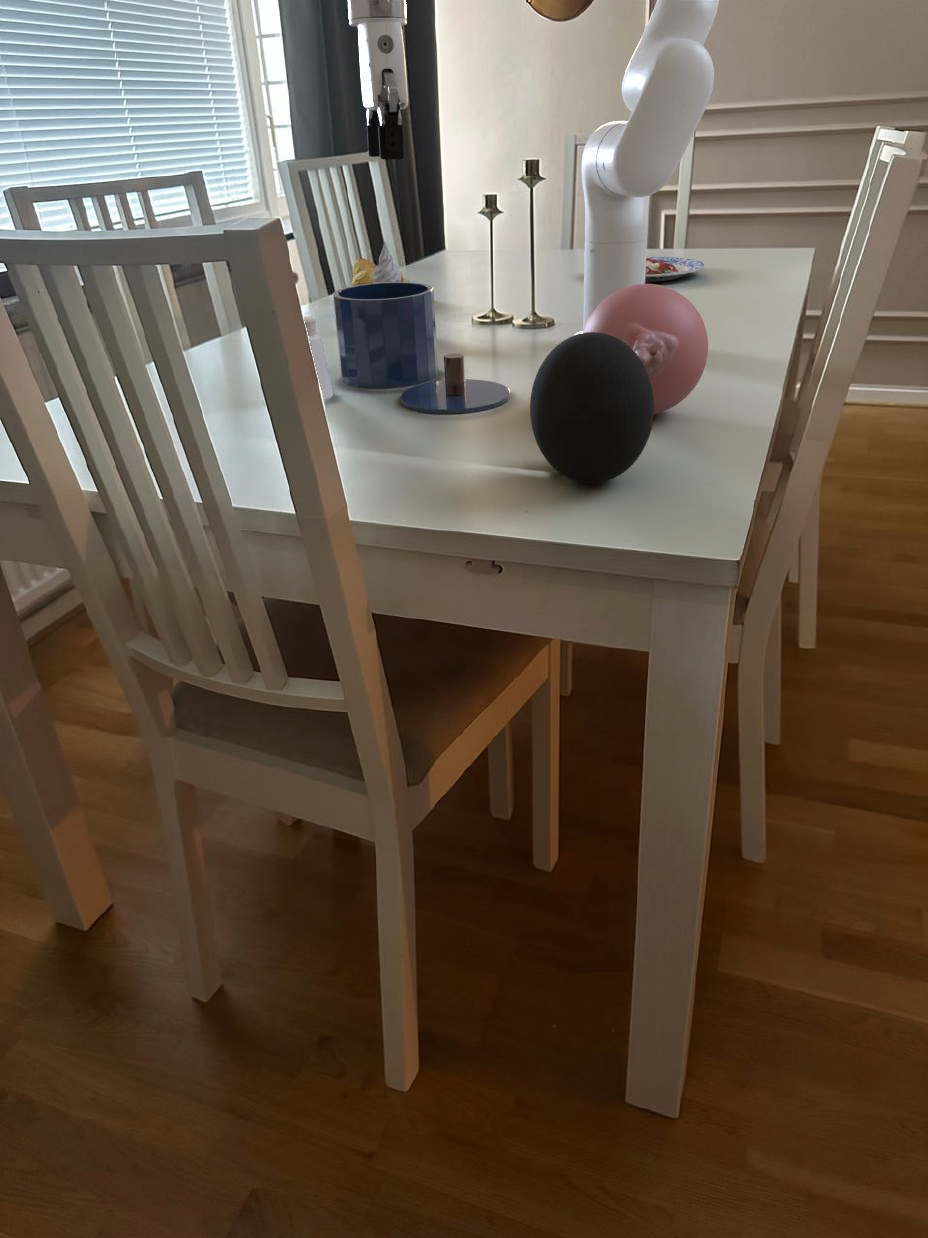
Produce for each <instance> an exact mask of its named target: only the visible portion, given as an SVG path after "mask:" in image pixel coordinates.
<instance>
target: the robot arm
mask: <svg viewBox="0 0 928 1238" xmlns="http://www.w3.org/2000/svg"><path fill="white" fill-rule="evenodd" d="M406 3H407V2H406V0H347V9H348V20H349V23H348V24H349V26H350V27H357V37H358V39H357V40H358V57H359V73H360V75H359V76H360V87H361V96H362V98H361V99H362V104H363V107H364V108H365V109H366V139H367V153H368V156H369V157H370V158H376V157H378V158H380V159H381V160H402V159H404V156H405V151H404V148H405V147H404V134H403V133H404V131H403V129H404V128H403V124H402V123H403V119H402V114H401V110H405V109H406V108H407V107H408V106H409V92H408V89H409V88H408V79H407V66H406V53H405V45H404V35H403V29H402V26H406V25H407V4H406ZM719 4H720V0H656V2H655V5H654V8H653V10H652V12H651V15H650V17H649V20H648V22H647V24H646V26H645V29H644V31H643V33H642V35H641V37H640V40H639V42H638V44H637V46H636V48H635V50H634V52H633V54H632V56H631V58H630V60H629V63H628V64H627V67H626V69H625V72H624V74H623V78H622V82H621V96H622V100H623V103H624V105H625V106H626V108H627V109H628V110H629V111H630V115H629V117H628V119H627V120H618V121H611V122H607V123H604V124H603V125H601V126H599V127H598V128H597V129H595V131H593V133H592V134H591V135H590V136H589V137H588V139H587V140H586V143H585V145H584V148H583V150H582V155H581V182H582V190H583V200H584V254H583V255H584V256H583V257H584V265H583V312H582V314H583V317H582V318H583V319H582V330H581V331H579V332H576V333H575V334H574V335H577V334H581V333H582V332H583V329H584V327H585V324H586V322H587V320H588V319H589V317H590V315H591V314H592V312H593V311H594V310H595V309H596V307H597V306H598V305H599V304H600V303H601V302H602V301H603V300H605V299H606V298H607V297H609V296H610V295H611V294H613V293H615V292H617V291H619V290H621V289H623V288H626V287H629V286H633V285H638V284H646V282H645V273H646V257H647V253H648V251H647V250H648V237H649V236H648V235H649V234H648V232H649V211H648V201H647V197H649V196H652V195H654V194H656V193H657V192H659V191H660V190H662V189H663V188H664V187H665V186H666V185H667V184H668V182H669V181H670V180H671V178H672V177H673V175H674V174H675V171H676V170H677V168H678V166H679V164H680V162H681V160H682V158H683V156H684V154H685V152H686V151H687V150H686V149H687V148H688V146H689V144H690V142H691V140H692V138H693V136H694V134H695V132H696V129H697V128H698V126H699V124H700V122H701V119H702V117H703V116H704V113H705V111H706V109H707V107H708V105H709V102H710V99H711V97H712V92H713V88H714V84H715V83H714V82H715V67H714V63H713V59H712V57H711V55H710V53H709V51H708V50H707V49H706V47H705V44H706V42H707V39H708V35H709V34H710V31H711V29H712V27H713V24H714V23H715V19H716V16H717V14H718V13H717V12H718V10H719Z"/></svg>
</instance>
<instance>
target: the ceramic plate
mask: <svg viewBox="0 0 928 1238" xmlns="http://www.w3.org/2000/svg"><path fill="white" fill-rule="evenodd" d="M705 268H706V263H705V262H703V261H701V260H698V259H693V258H687V257H677V256H657V255H656V256H646V273H645V283H656V282H667V281H672V280H676V279H680V278H682V277H684V276H686V275H687V274H692V273H696V272H698V271H702V270H703V269H705Z"/></svg>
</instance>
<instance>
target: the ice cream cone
mask: <svg viewBox="0 0 928 1238" xmlns="http://www.w3.org/2000/svg"><path fill="white" fill-rule="evenodd" d="M400 270H401V269H400V267H399V266H398V265H397V263H395V258H394V256H393V255H392V254H391V251H390V249H389V247H388V245H387V242H386V240H384V241H383V245H382V248H381V252H380V255H379V257H378V264H377V267H376V268H375V272H374V273H373V277H374V278H375V280H374V283H383V282H400V280H401V271H402V270H401V271H400Z"/></svg>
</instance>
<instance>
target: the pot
mask: <svg viewBox="0 0 928 1238" xmlns="http://www.w3.org/2000/svg"><path fill="white" fill-rule="evenodd" d="M434 292H435V291H434V287H433V286H432V285H431V284H427V283H421V282H412V281H411V282H410V281H409V282H383V283H371V284H363V285H356V286H351V285H350V286H347V287H343V288H340V289H337V290H335V291H334V292H332V300H333V310H334V318H335V328H336V337H337V348H338V356H339V365H340V375H341V381H342V383H344V384H346V385H347V386H350V387H354V388H358V389H367V390H368V389H370V390H391V389H400V388H407V387H414V386H418V385H421V384H425V383H429V382H431V381H432V380H434V379H435V378H437V376H438V375H439V364H438V363H439V362H438V346H437V344H438V343H437V329H436V312H435V310H436V309H435V308H436V307H435V293H434Z"/></svg>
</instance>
